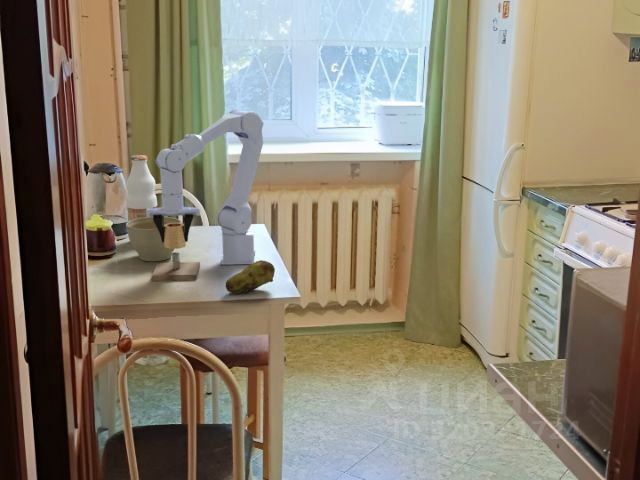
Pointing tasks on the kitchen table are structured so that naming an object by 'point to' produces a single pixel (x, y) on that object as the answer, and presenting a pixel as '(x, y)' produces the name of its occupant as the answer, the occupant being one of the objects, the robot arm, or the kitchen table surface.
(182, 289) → the kitchen table surface
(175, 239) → the octagonal wooden tube
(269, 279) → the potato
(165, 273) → the pin block
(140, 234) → the planter bowl
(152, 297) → the kitchen table surface
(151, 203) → the white milk bottle
